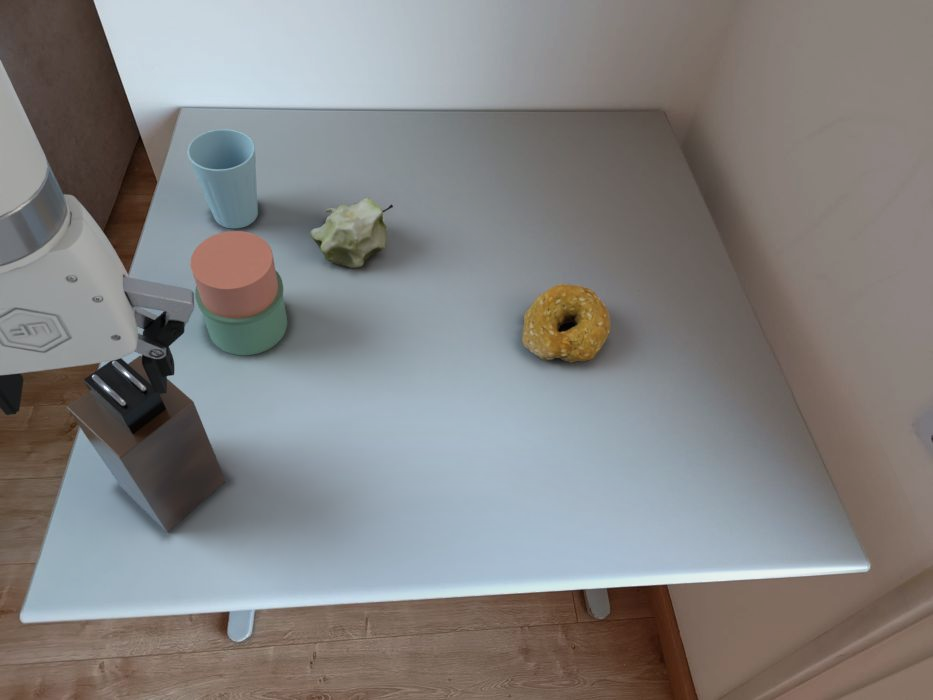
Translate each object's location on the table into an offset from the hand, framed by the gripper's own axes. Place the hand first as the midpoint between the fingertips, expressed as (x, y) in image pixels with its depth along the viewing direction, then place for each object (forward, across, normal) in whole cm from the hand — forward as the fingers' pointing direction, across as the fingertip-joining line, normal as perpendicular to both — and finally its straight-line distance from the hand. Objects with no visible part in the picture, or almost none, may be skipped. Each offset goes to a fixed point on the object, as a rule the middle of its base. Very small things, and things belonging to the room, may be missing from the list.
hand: (90, 387), depth 51 cm
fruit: (+22, +22, +32) cm, 45 cm away
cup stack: (+22, +9, +22) cm, 32 cm away
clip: (+7, +1, +3) cm, 7 cm away
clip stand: (+22, +1, +3) cm, 22 cm away
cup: (+22, +9, +40) cm, 47 cm away
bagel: (+22, +45, +14) cm, 52 cm away
